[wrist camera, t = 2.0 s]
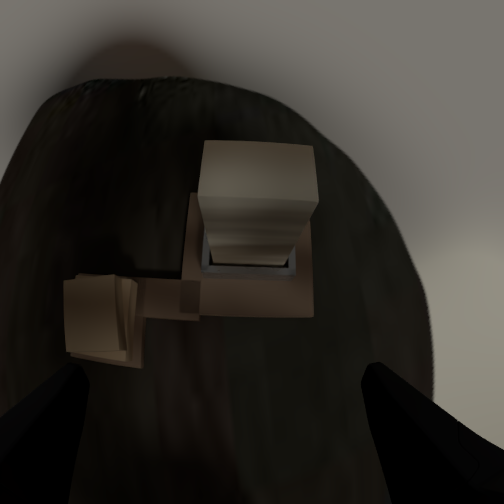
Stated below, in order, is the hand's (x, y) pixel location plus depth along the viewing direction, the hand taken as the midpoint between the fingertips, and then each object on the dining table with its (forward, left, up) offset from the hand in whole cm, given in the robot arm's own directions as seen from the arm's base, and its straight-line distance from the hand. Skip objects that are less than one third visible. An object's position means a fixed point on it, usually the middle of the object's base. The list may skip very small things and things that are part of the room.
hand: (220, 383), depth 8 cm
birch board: (+7, -5, -13) cm, 15 cm away
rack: (+7, +1, -14) cm, 15 cm away
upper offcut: (+6, +8, -11) cm, 15 cm away
